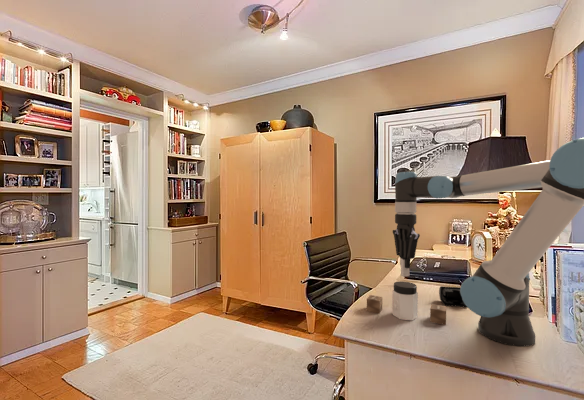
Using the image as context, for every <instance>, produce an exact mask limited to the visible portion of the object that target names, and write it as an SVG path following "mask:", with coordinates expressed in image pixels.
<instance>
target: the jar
mask: <svg viewBox="0 0 584 400" xmlns="http://www.w3.org/2000/svg"><path fill="white" fill-rule="evenodd" d="M417 289H418V287H417V284H416V283H413V282H410V281H400V280H399V281H396V282H393V289H392V304H391V305H392V307H391V308H392V316H394V317H396V318H397V319H399V320H400V321H401V320H402V321H414V320H416V319H417V317H418V312H419V311H418V310H419V309H418V307H419V305H418V304H419V302H418V301H419V300H418V299H419V297H418V296H419V295H418V294H419V292H418V291H417Z"/></svg>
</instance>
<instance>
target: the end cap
mask: <svg viewBox="0 0 584 400" xmlns="http://www.w3.org/2000/svg"><path fill="white" fill-rule="evenodd" d="M460 289H461V286H460V287H458V286H457V287H456V286H444V285H443V286H442V285H441V286H440V287H439V290H438V296H439V299H440V301H441V303H442V304H443V306H446V307H456V308H468V307H467V306H466V305H465V303H464V302H463V300H462V296H461V293H460Z"/></svg>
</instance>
